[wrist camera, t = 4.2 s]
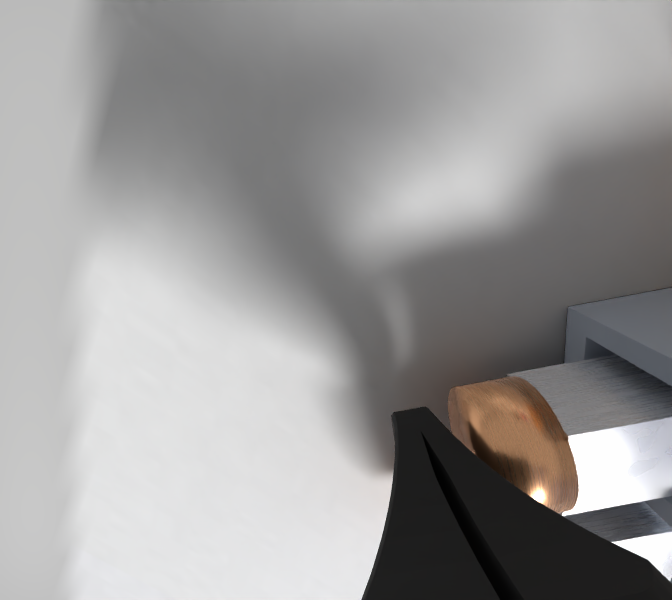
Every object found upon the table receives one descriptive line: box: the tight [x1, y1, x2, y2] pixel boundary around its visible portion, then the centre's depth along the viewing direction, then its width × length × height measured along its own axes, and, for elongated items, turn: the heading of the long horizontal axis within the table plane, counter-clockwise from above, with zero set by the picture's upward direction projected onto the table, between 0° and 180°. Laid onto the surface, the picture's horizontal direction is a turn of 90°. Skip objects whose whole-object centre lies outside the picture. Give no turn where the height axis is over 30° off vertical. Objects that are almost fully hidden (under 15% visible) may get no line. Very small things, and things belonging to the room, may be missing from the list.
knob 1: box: [448, 354, 672, 516], centre depth 11 cm, size 4×8×4 cm, turn 100°
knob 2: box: [558, 501, 672, 581], centre depth 12 cm, size 4×8×4 cm, turn 100°
